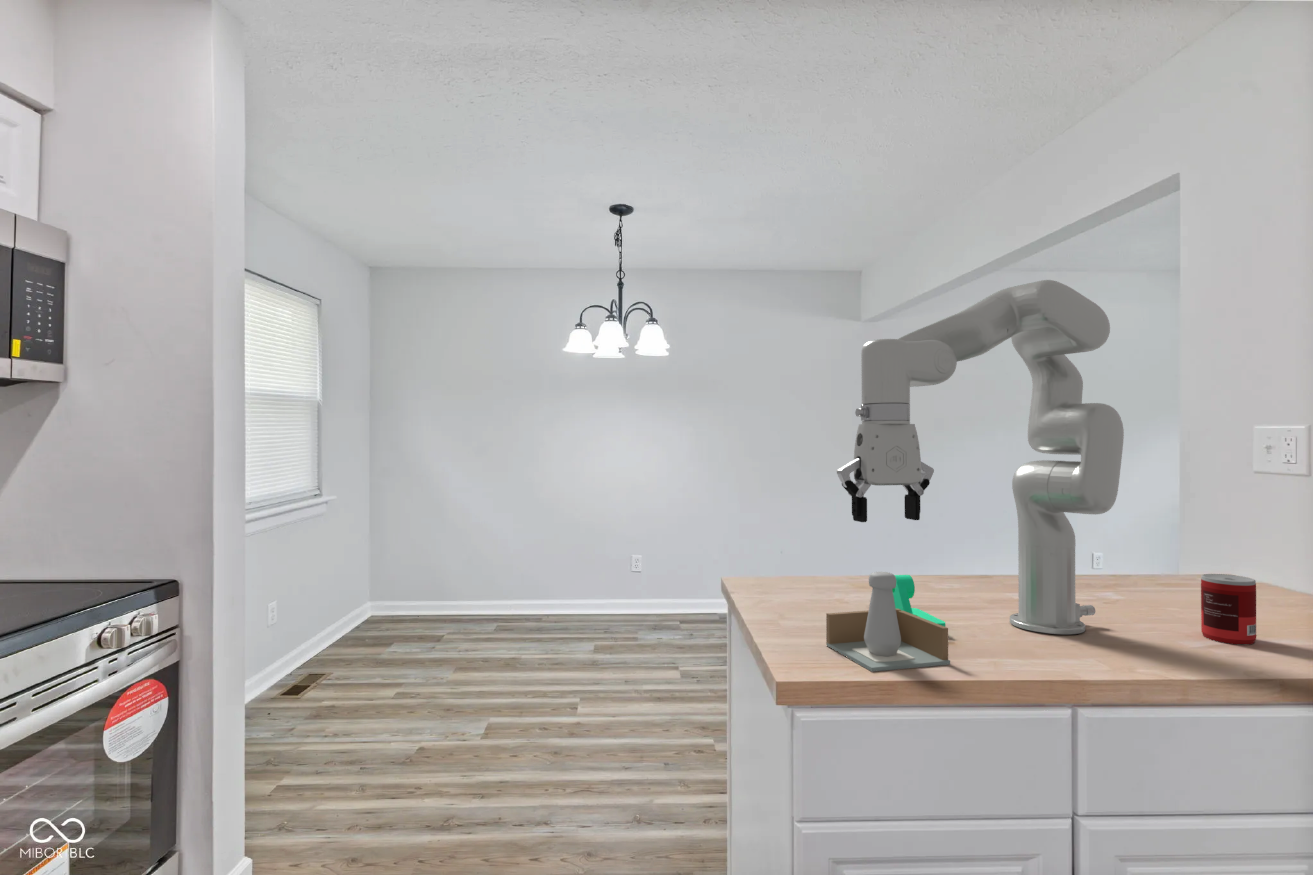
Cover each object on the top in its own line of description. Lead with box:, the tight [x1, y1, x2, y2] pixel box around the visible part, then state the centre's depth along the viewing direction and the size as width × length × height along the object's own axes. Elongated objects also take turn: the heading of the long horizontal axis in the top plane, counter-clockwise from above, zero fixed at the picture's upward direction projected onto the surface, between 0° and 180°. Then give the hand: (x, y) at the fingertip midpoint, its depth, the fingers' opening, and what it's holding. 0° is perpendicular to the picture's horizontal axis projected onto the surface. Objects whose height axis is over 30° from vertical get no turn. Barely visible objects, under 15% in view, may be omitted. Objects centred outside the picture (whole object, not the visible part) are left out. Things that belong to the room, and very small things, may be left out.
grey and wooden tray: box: [825, 609, 951, 672], centre depth 115 cm, size 14×14×6 cm
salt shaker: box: [864, 571, 901, 657], centre depth 113 cm, size 6×6×13 cm
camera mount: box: [892, 574, 947, 627], centre depth 131 cm, size 12×8×10 cm, turn 6°
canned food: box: [1200, 573, 1257, 645], centre depth 125 cm, size 8×8×11 cm
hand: (886, 520), depth 114 cm, fingers open, 9 cm apart
